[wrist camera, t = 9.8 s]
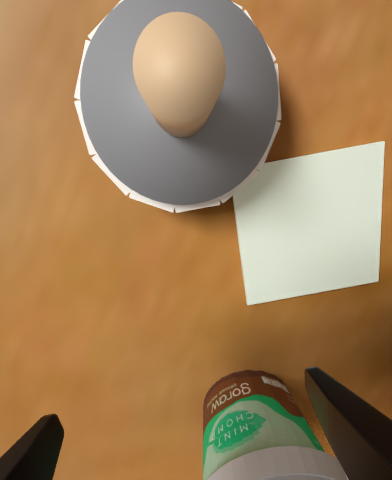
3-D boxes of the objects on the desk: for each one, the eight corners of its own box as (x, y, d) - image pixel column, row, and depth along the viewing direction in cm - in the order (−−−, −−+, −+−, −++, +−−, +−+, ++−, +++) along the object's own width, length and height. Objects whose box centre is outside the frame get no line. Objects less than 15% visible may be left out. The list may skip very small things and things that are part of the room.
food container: (254, 337, 24) (301, 452, 14) (293, 372, 25) (360, 497, 16) (166, 410, 26) (156, 553, 16) (207, 438, 27) (220, 585, 18)
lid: (263, -22, 13) (335, -193, 7) (279, 186, 16) (338, 198, 10) (60, 16, 13) (-51, -120, 7) (115, 216, 16) (73, 246, 10)
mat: (380, 141, 19) (384, 140, 19) (375, 279, 23) (378, 281, 22) (228, 169, 19) (229, 169, 19) (246, 302, 23) (247, 305, 22)
